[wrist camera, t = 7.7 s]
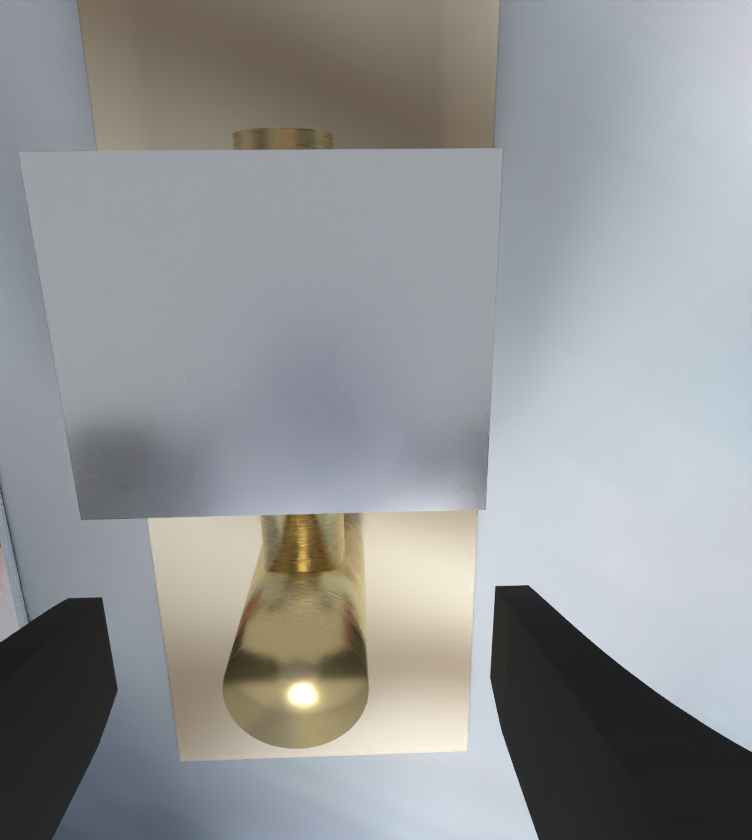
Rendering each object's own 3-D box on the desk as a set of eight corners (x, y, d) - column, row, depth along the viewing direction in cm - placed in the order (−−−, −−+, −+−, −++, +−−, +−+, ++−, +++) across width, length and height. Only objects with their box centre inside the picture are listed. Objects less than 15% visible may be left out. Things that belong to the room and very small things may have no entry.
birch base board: (465, 742, 17) (466, 751, 17) (183, 753, 17) (180, 761, 17) (497, -42, 12) (501, -49, 11) (77, -43, 12) (70, -51, 11)
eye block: (438, 410, 14) (485, 509, 9) (177, 416, 14) (80, 519, 9) (444, 179, 13) (503, 148, 8) (151, 182, 12) (17, 151, 7)
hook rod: (364, 590, 15) (370, 745, 10) (266, 593, 15) (228, 751, 10) (357, 151, 12) (359, 104, 7) (233, 152, 12) (161, 106, 7)
